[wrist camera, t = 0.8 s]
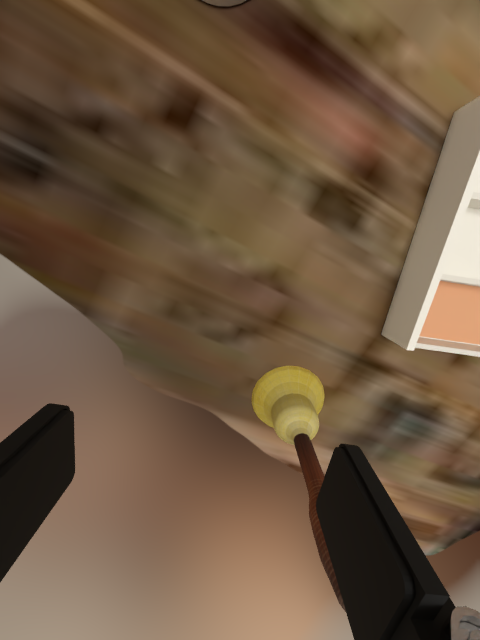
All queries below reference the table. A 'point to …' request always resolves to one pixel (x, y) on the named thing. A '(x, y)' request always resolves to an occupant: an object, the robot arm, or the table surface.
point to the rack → (445, 252)
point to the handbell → (297, 434)
